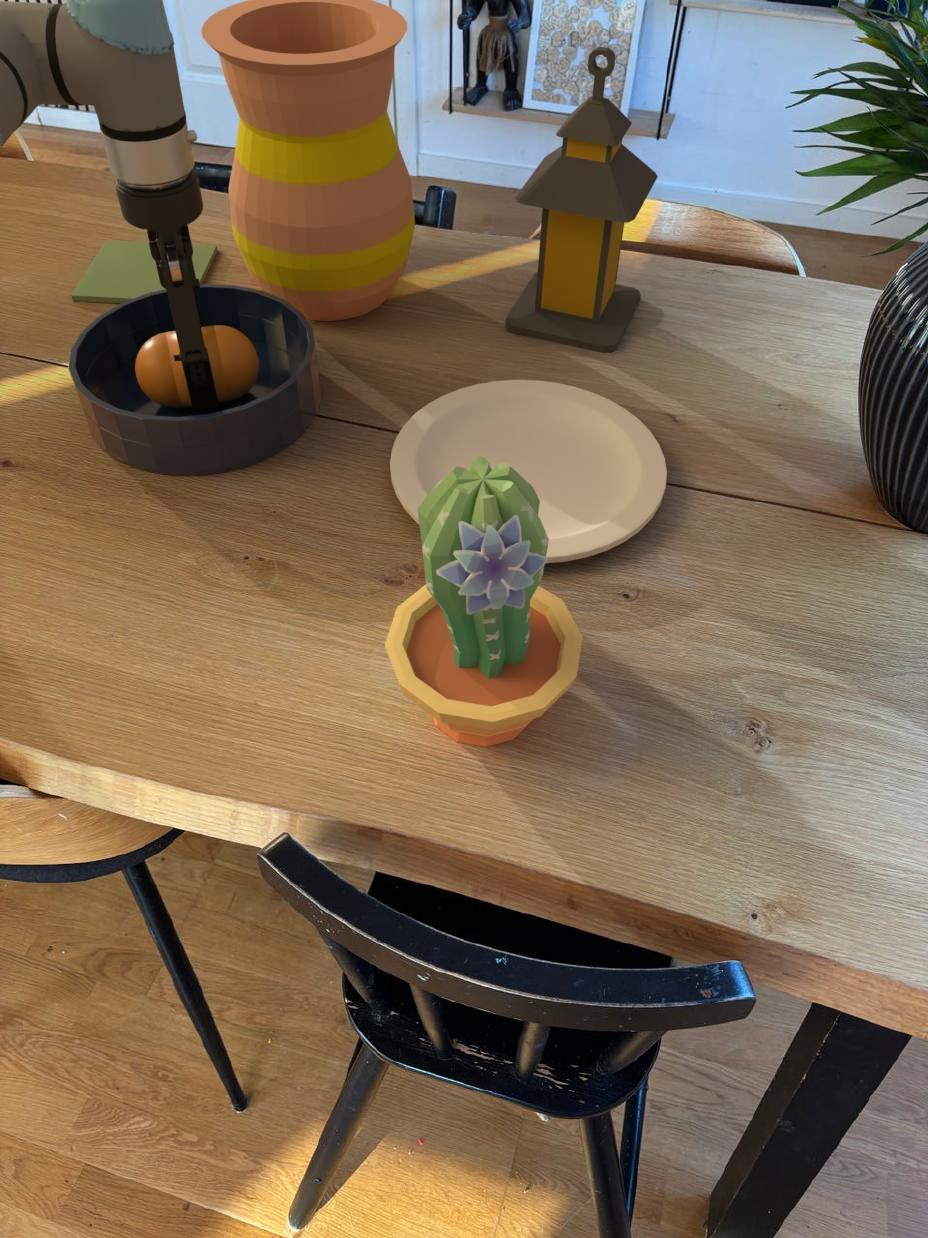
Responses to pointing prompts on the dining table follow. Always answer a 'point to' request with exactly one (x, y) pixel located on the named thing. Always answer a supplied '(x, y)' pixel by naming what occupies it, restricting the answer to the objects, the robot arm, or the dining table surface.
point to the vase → (316, 151)
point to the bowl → (182, 434)
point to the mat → (131, 272)
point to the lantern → (583, 227)
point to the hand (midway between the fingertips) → (200, 376)
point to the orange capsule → (227, 358)
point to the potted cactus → (483, 611)
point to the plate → (541, 458)
